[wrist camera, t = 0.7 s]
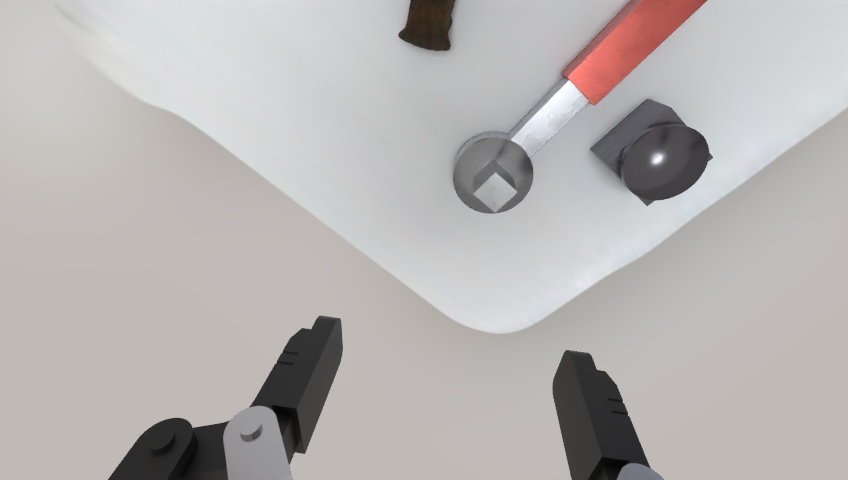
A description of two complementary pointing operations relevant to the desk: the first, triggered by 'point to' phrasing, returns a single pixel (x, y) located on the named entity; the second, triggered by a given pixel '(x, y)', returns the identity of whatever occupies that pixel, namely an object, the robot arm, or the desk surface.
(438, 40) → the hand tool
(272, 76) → the desk surface
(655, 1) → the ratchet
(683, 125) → the block with domed cap
